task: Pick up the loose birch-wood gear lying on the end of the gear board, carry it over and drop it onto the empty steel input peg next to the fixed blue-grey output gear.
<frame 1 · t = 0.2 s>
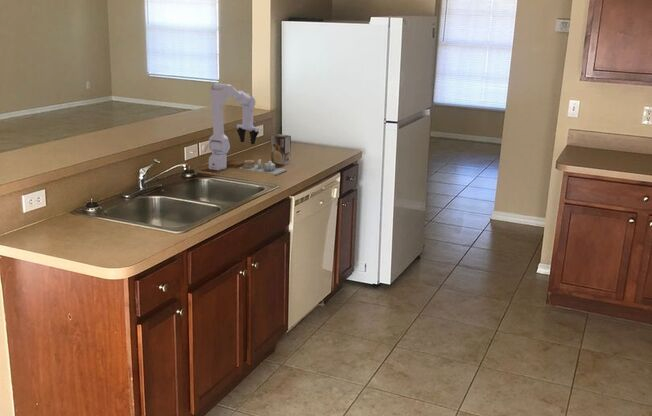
hand: (247, 143, 368), 10 cm above the worktop, fingers open, 7 cm apart
loose gear: (249, 166, 353), point 1 cm above the worktop, touching gear board
gear board: (262, 170, 350), on the worktop
coffee box: (280, 165, 365), on the worktop
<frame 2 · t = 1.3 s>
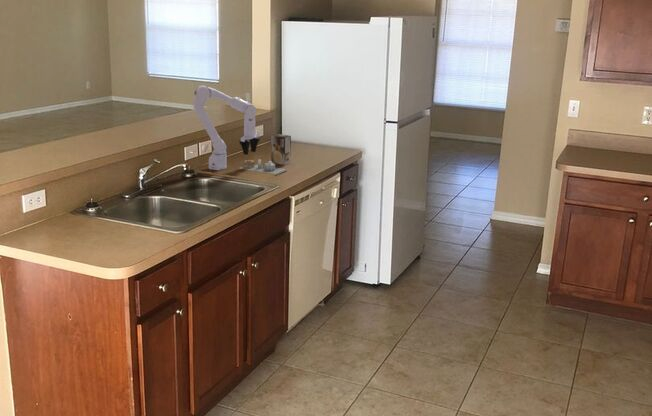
hand: (249, 153, 351), 8 cm above the worktop, fingers open, 7 cm apart
nothing on the worktop moved.
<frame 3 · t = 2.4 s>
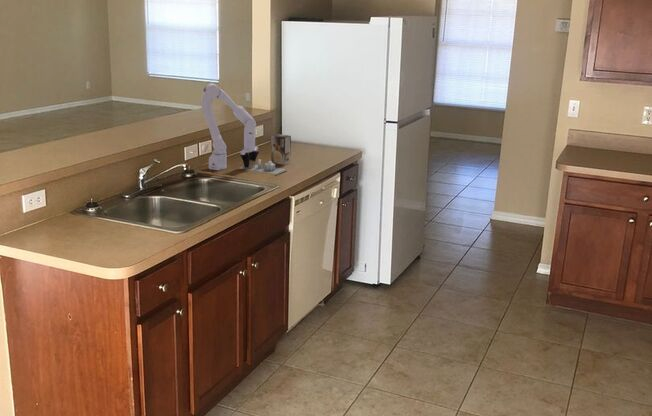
hand: (249, 165, 353), 2 cm above the worktop, fingers closed on loose gear, 5 cm apart
loose gear: (249, 166, 353), point 1 cm above the worktop, touching gear board, gripper
everything else where it was.
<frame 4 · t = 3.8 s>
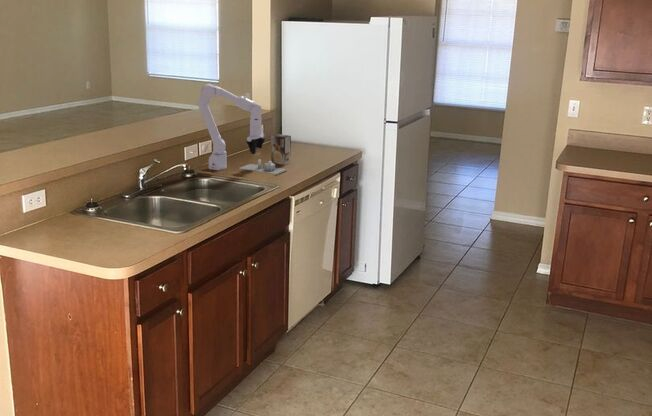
hand: (255, 152, 349), 9 cm above the worktop, fingers closed on loose gear, 5 cm apart
loose gear: (255, 154, 349), point 8 cm above the worktop, touching gripper
everything else where it was.
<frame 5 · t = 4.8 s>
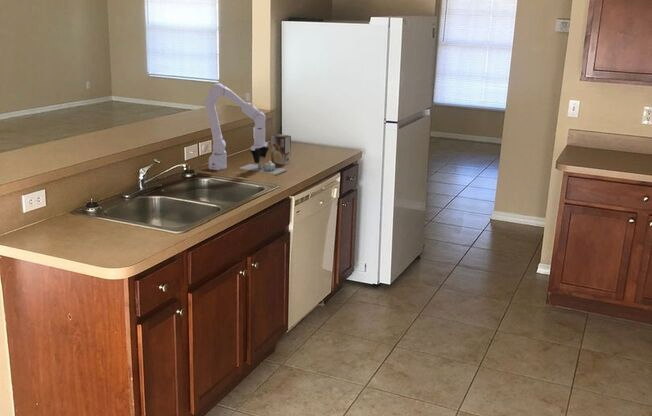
hand: (259, 161, 349), 5 cm above the worktop, fingers closed on loose gear, 5 cm apart
loose gear: (259, 162, 350), point 4 cm above the worktop, touching gripper
everything else where it was.
when the fingers open (4 cm above the worktop, at t = 5.4 s): loose gear drops 3 cm, resting on gear board.
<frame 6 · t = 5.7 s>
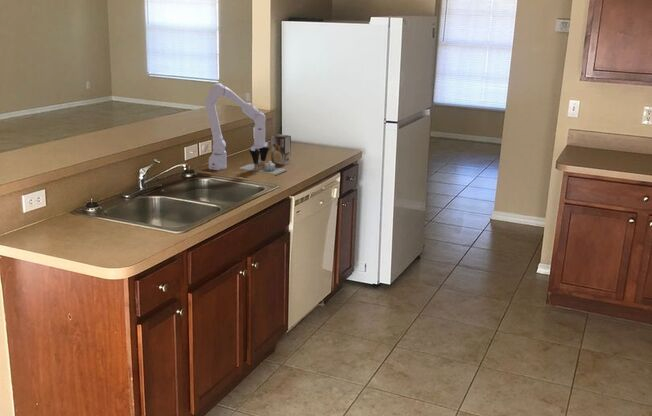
hand: (259, 162, 350), 4 cm above the worktop, fingers open, 7 cm apart
loose gear: (259, 168, 351), point 1 cm above the worktop, touching gear board
everything else where it was.
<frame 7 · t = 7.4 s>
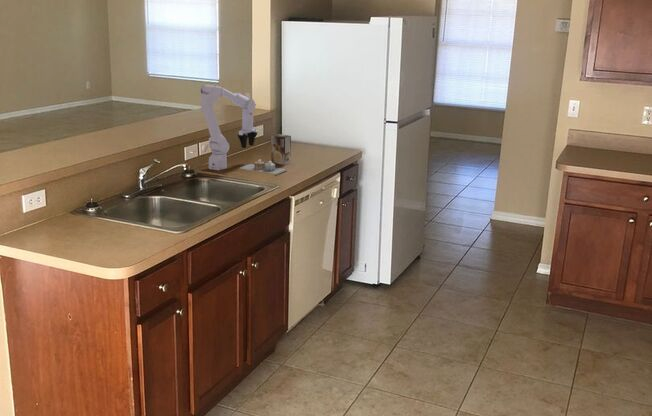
hand: (247, 146, 360), 10 cm above the worktop, fingers open, 7 cm apart
nothing on the worktop moved.
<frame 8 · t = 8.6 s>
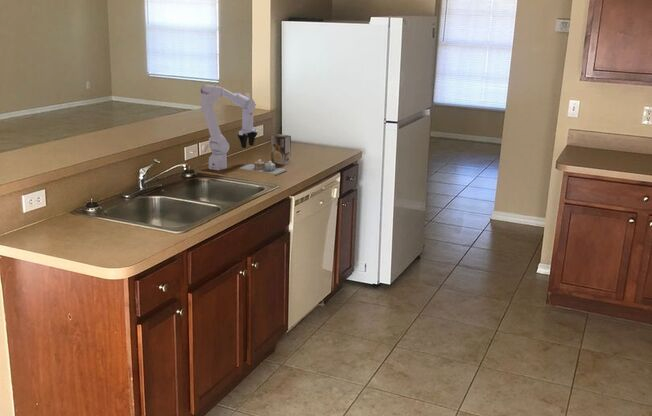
hand: (247, 146, 360), 10 cm above the worktop, fingers open, 7 cm apart
nothing on the worktop moved.
at the end: loose gear 0.1 cm from the target spot on the gear board, point 1.2 cm above the gear board's base; the gripper is holding nothing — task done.
